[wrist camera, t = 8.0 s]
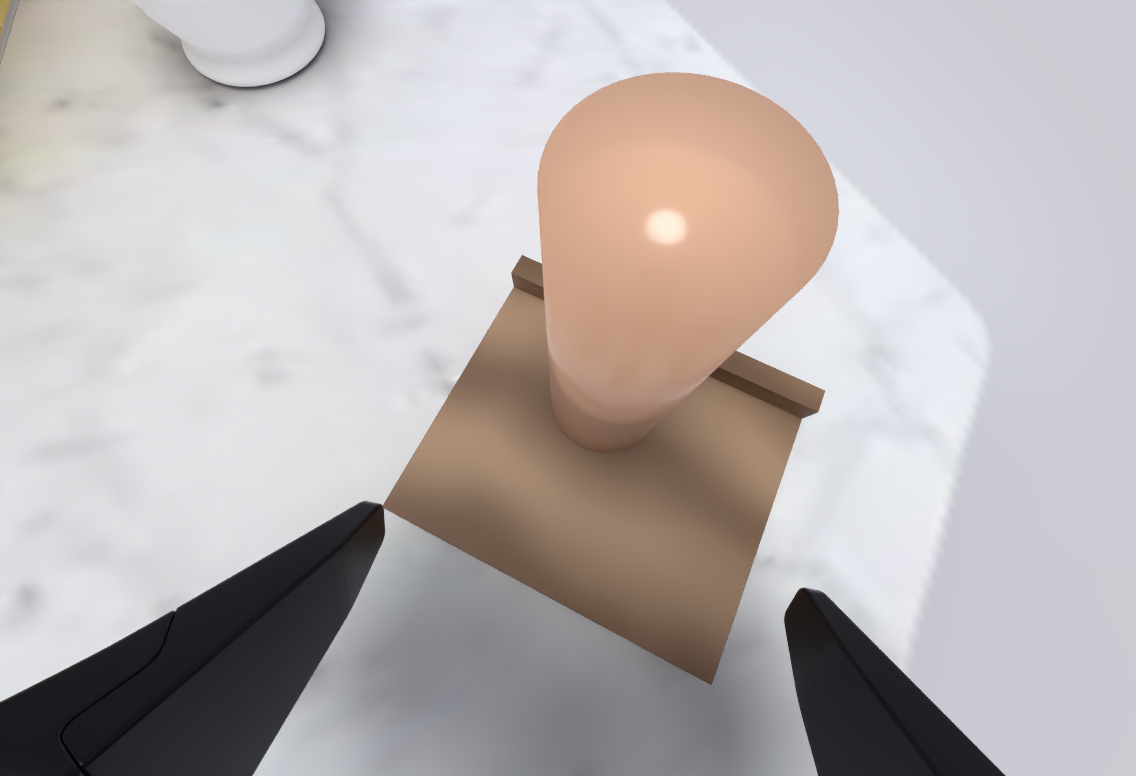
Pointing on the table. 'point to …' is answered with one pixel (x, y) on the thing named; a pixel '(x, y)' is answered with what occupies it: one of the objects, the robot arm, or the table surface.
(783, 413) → the shelf board
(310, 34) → the jar
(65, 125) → the table surface
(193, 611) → the robot arm
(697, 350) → the tan round cylinder
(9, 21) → the pasta box
